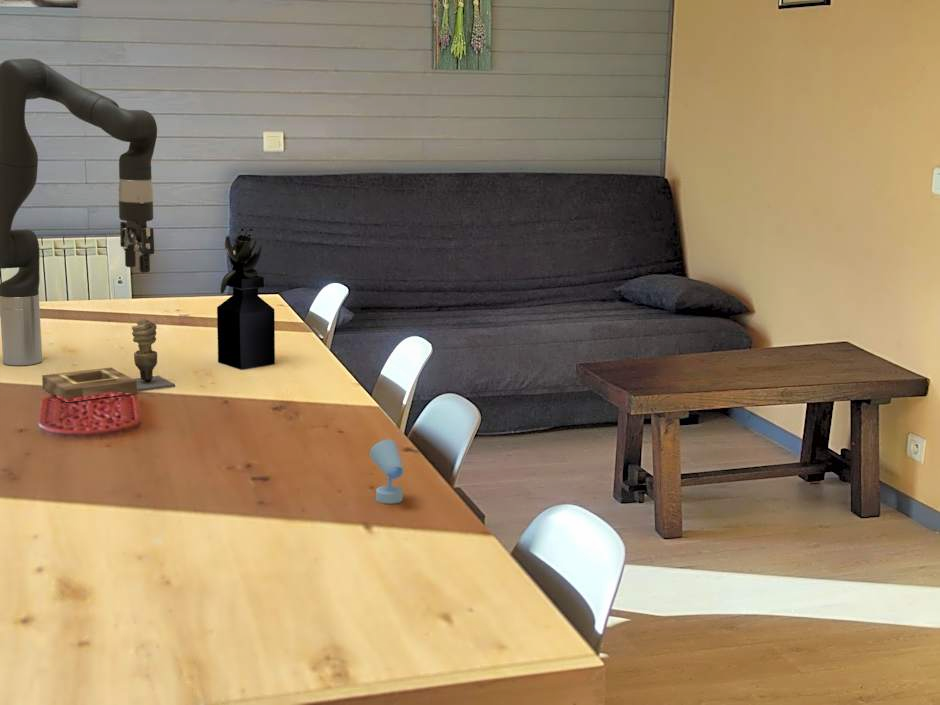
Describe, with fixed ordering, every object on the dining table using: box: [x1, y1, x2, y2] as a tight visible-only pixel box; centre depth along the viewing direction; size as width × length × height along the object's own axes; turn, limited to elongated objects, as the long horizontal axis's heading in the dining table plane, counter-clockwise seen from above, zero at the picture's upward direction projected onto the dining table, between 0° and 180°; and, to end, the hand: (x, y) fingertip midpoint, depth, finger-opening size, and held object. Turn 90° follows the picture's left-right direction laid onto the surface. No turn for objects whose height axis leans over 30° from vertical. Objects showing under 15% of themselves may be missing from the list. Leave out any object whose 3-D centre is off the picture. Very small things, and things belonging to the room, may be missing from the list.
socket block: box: [41, 367, 138, 399], centre depth 249 cm, size 16×16×3 cm
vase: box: [216, 228, 276, 371], centre depth 278 cm, size 14×12×35 cm
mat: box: [133, 375, 176, 393], centre depth 256 cm, size 10×10×1 cm
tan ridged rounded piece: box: [131, 319, 158, 383], centre depth 255 cm, size 6×6×15 cm
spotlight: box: [369, 439, 405, 505], centre depth 184 cm, size 5×10×7 cm
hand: (137, 269), depth 253 cm, fingers open, 8 cm apart
